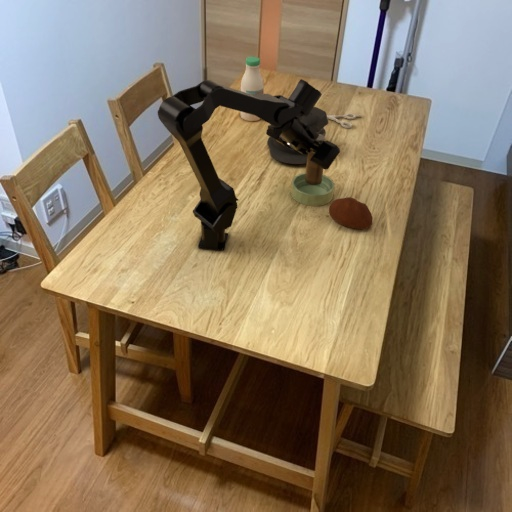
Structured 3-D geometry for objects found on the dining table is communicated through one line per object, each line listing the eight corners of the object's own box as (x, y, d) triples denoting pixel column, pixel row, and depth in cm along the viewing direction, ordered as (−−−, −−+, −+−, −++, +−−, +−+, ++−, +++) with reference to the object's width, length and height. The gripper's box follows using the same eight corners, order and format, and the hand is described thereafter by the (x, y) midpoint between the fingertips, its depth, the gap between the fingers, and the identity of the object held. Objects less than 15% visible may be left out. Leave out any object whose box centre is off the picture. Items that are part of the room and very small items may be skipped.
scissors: (355, 127, 177) (298, 116, 181) (355, 129, 177) (297, 118, 182) (361, 114, 185) (306, 104, 189) (361, 116, 185) (306, 106, 190)
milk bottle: (237, 119, 181) (237, 61, 168) (244, 110, 186) (245, 53, 173) (258, 123, 179) (260, 64, 166) (265, 113, 185) (267, 56, 172)
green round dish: (332, 209, 142) (334, 197, 139) (289, 205, 142) (290, 193, 140) (332, 186, 150) (334, 174, 148) (292, 182, 151) (293, 170, 149)
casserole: (317, 174, 155) (320, 148, 150) (256, 163, 159) (257, 138, 153) (332, 136, 174) (335, 112, 168) (277, 127, 177) (279, 103, 172)
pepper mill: (321, 185, 141) (327, 142, 133) (304, 184, 142) (309, 140, 133) (322, 176, 145) (327, 133, 136) (305, 175, 145) (310, 132, 137)
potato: (369, 238, 133) (374, 212, 127) (323, 229, 135) (327, 203, 130) (372, 220, 138) (378, 195, 133) (329, 212, 140) (332, 187, 135)
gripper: (340, 116, 121) (364, 145, 133) (285, 88, 131) (312, 118, 144) (312, 156, 122) (338, 182, 134) (260, 126, 132) (289, 152, 145)
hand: (319, 157), depth 139 cm, fingers closed on pepper mill, 4 cm apart
